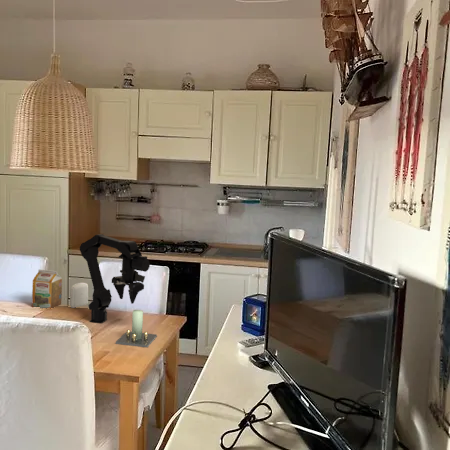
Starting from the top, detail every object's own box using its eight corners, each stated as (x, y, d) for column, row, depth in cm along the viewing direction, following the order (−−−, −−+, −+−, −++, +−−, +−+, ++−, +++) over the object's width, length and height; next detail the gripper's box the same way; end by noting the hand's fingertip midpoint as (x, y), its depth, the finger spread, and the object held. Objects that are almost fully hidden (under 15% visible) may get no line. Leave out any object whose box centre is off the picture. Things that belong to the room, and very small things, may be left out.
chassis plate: (115, 343, 202) (115, 334, 202) (127, 333, 216) (127, 324, 216) (147, 347, 200) (147, 338, 200) (156, 336, 214) (157, 328, 214)
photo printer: (74, 308, 249) (74, 285, 248) (68, 306, 251) (69, 283, 250) (89, 304, 258) (89, 282, 256) (83, 302, 260) (84, 280, 259)
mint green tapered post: (132, 339, 205) (133, 313, 204) (131, 336, 210) (132, 309, 208) (142, 339, 207) (143, 312, 205) (141, 335, 211) (142, 309, 210)
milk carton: (61, 304, 255) (62, 269, 253) (50, 309, 245) (51, 273, 243) (43, 302, 257) (44, 267, 255) (32, 307, 246) (32, 271, 244)
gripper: (154, 270, 219) (152, 303, 221) (131, 263, 232) (130, 294, 234) (134, 272, 211) (132, 307, 213) (111, 265, 224) (110, 297, 226)
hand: (126, 301), depth 222 cm, fingers open, 9 cm apart
